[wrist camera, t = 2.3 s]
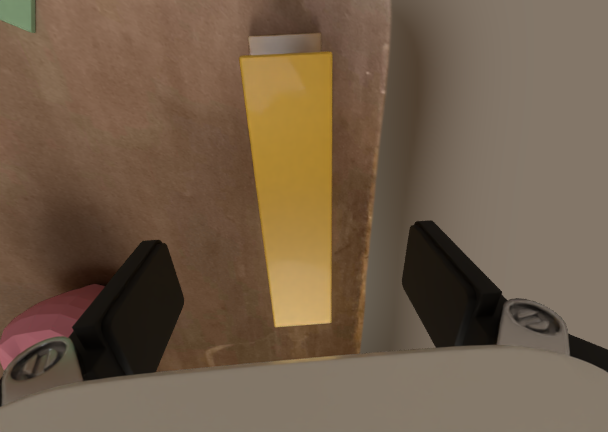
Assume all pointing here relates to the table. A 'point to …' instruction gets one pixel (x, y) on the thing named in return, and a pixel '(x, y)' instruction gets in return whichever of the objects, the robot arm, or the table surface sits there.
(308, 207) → the bar
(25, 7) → the mat
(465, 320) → the robot arm
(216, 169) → the table surface
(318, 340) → the table surface
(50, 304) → the apple
